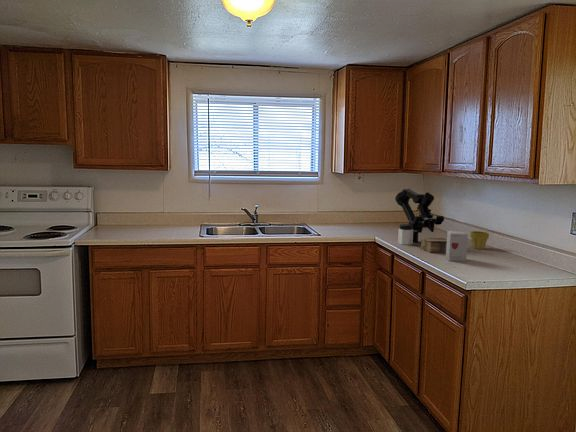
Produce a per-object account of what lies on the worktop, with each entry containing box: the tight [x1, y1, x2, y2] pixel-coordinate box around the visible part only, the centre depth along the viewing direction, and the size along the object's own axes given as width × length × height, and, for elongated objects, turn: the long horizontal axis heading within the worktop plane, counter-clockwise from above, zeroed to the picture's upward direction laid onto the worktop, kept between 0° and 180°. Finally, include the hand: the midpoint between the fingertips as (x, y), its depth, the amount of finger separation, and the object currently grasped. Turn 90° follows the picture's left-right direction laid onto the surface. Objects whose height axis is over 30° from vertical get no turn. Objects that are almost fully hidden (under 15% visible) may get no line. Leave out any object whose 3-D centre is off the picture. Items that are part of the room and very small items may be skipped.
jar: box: [397, 223, 414, 246], centre depth 306 cm, size 9×8×12 cm
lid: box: [420, 237, 447, 242], centre depth 285 cm, size 12×14×1 cm
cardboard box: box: [420, 239, 447, 254], centre depth 285 cm, size 12×14×6 cm
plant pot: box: [469, 230, 490, 250], centre depth 295 cm, size 10×10×10 cm
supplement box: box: [445, 230, 468, 263], centre depth 261 cm, size 9×9×15 cm
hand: (432, 231), depth 290 cm, fingers closed
